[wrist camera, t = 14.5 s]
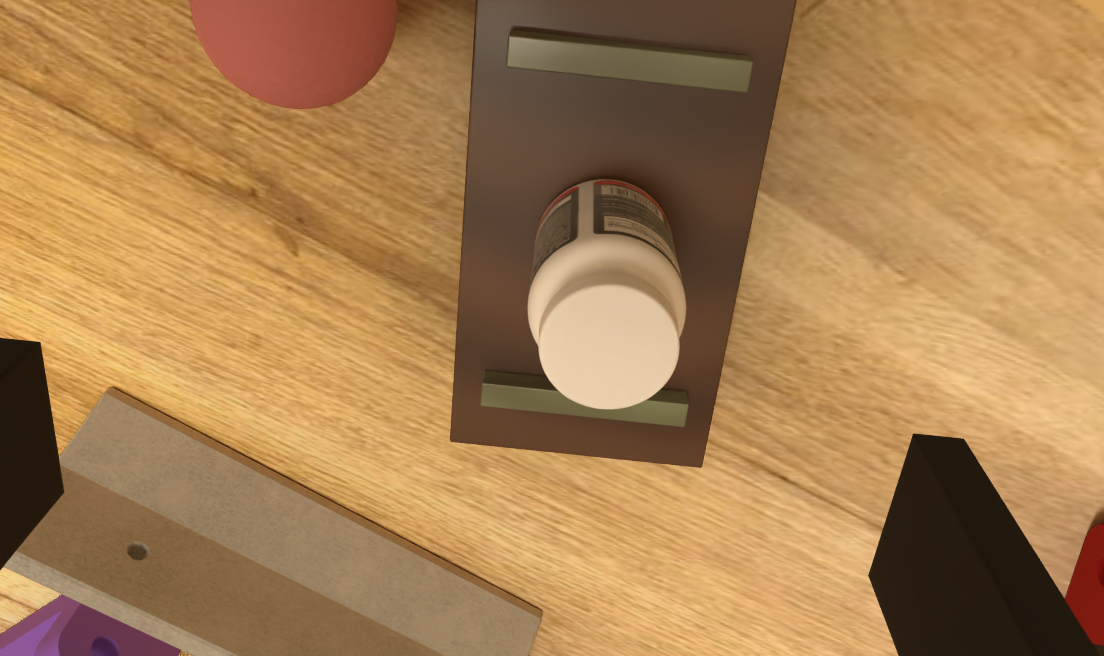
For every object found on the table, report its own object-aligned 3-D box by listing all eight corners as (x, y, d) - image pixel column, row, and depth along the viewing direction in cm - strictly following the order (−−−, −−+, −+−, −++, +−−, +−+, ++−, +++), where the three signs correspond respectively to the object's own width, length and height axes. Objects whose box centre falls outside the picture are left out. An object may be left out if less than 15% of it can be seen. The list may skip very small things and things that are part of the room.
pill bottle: (563, 318, 42) (555, 443, 33) (516, 202, 40) (493, 303, 31) (689, 277, 41) (715, 396, 32) (647, 155, 39) (663, 246, 30)
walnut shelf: (494, -68, 41) (475, -53, 34) (774, -38, 41) (807, -17, 34) (465, 379, 51) (446, 456, 44) (690, 403, 51) (704, 483, 44)
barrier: (65, 475, 54) (-39, 598, 46) (110, 385, 52) (9, 497, 43) (481, 681, 60) (462, 826, 51) (543, 610, 58) (533, 750, 49)
